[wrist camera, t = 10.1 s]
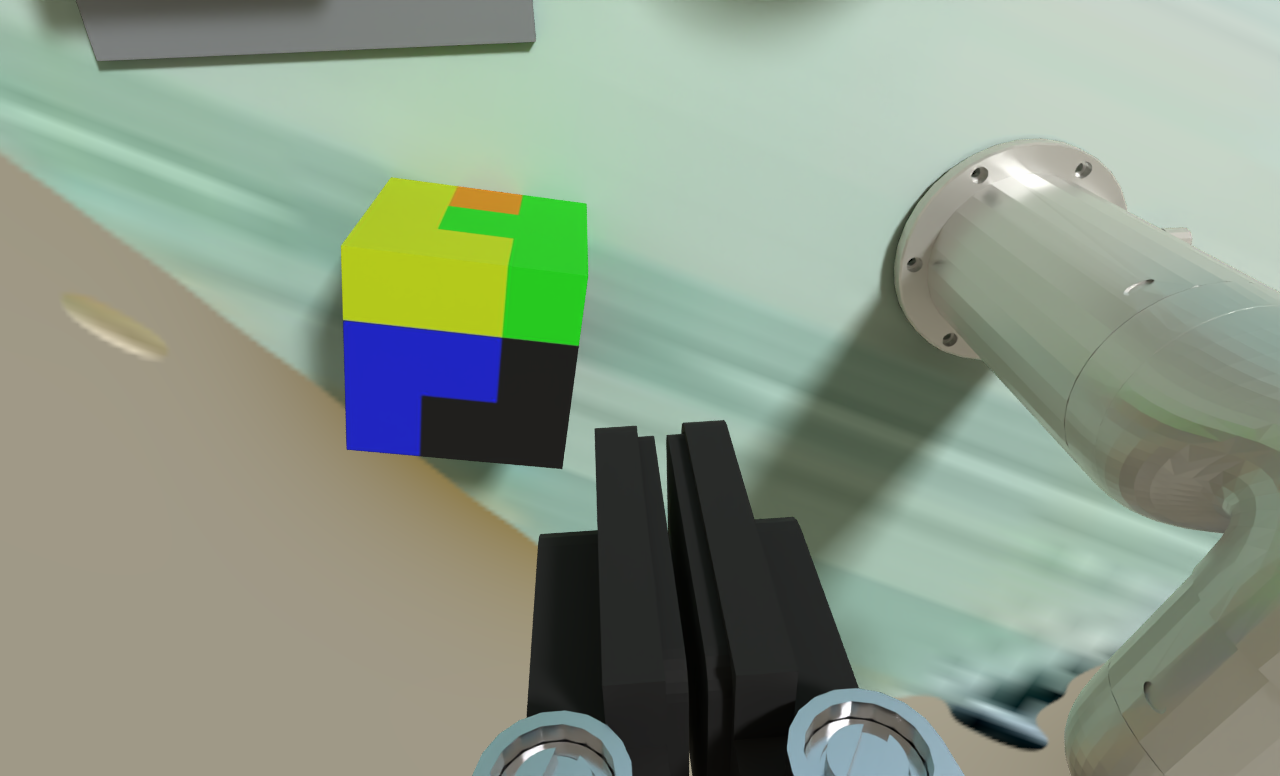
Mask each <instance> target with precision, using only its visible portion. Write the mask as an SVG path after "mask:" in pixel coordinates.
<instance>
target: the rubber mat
mask: <svg viewBox="0 0 1280 776" xmlns="http://www.w3.org/2000/svg"><path fill="white" fill-rule="evenodd" d="M76 2H77V5H78V8H79V11H80V14H81V17H82V19H83V22H84V25H85V28H86V31H87V34H88V37H89V39H90V42H91V45H92V48H93V51H94V54H95V57H96V59H97V61H109V60H132V59H155V58H178V57H200V56H223V55H246V54H268V53H291V52H314V51H336V50H359V49H382V48H404V47H427V46H450V45H472V44H495V43H518V42H536V34H535V23H534V12H533V1H532V0H76Z"/></svg>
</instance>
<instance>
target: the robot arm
mask: <svg viewBox="0 0 1280 776" xmlns="http://www.w3.org/2000/svg"><path fill="white" fill-rule="evenodd" d="M1077 166H1078V167H1077ZM975 169H977V171H976V173H975V174H974V175H972V173H973V171H974V170H975ZM1191 244H1192V235H1191V232H1190V231H1189V230H1188V228H1184V227H1179V228H1161V229H1160V228H1158V227H1156V226H1154V225H1152V224H1151V223H1149V222H1147V221H1145V220H1143V219H1141V218H1139V217H1137V216H1135V215H1134V214H1132V213H1130V212H1128V211H1127V205H1126V202H1125V199H1124V195H1123V192H1122V189H1121V187H1120V185H1119V183H1118V182H1117V180H1116V179H1115V177H1114V175H1113V174H1112V172H1111V171H1110V170H1109V169H1108V168H1107V167H1106V166H1105V165H1104V164H1103V163H1102V162H1101V161H1100V160H1099V159H1097V158H1096V157H1094V156H1092V155H1090V154H1088V153H1087V152H1085V151H1083V150H1081V149H1079V148H1077V147H1074V146H1072V145H1069V144H1067V143H1064V142H1060V141H1054V140H1048V139H1041V138H1040V139H1020V140H1014V141H1010V142H1006V143H1002V144H998V145H994V146H992V147H990V148H987V149H985V150H983V151H981V152H978V153H976V154H974V155H972V156H970V157H969V158H967V159H965V160H964V161H962V162H961V163H959V164H958V165H956V166H955V167H953V168H952V169H950V170H949V171H948V172H947V173H946V174H945V175H944V176H942V177H941V178H940V179H939V180H938V181H937V182H936V183H935V184H933V186H932V187H931V188H930V189H929V190H928V192H927V193H926V194H925V195H924V196H923V198H922V199H921V200H920V201H919V202H918V204H917V205H916V207H915V209H914V210H913V212H912V214H911V216H910V217H909V219H908V221H907V222H906V224H905V227H904V230H903V232H902V235H901V237H900V240H899V243H898V246H897V252H896V257H895V263H894V285H895V289H896V293H897V297H898V302H899V304H900V306H901V308H902V310H903V312H904V314H905V316H906V318H907V319H908V321H909V322H910V323H911V324H912V326H913V327H914V328H915V330H916V331H917V332H918V333H919V334H920V335H921V336H922V337H923V338H924V339H926V340H927V341H928V342H929V343H930V344H932V345H933V346H935V347H937V348H938V349H940V350H942V351H944V352H946V353H949V354H953V355H956V356H959V357H962V358H970V359H979V360H982V361H983V362H984V363H985V364H986V365H987V366H988V367H989V368H990V369H991V370H992V371H993V373H994V374H995V375H996V376H997V377H998V378H999V379H1000V380H1001V381H1002V382H1003V383H1004V385H1005V386H1006V387H1007V388H1008V389H1009V390H1010V391H1011V392H1012V393H1013V394H1014V395H1015V397H1016V398H1017V399H1018V400H1019V401H1020V402H1021V403H1022V404H1023V405H1024V406H1025V407H1026V409H1027V410H1028V411H1029V412H1030V413H1031V414H1032V415H1033V416H1034V417H1035V418H1036V419H1037V421H1038V422H1039V423H1040V424H1041V425H1042V426H1043V427H1044V428H1045V429H1046V430H1047V432H1048V433H1049V434H1050V435H1051V436H1052V437H1053V438H1054V439H1055V440H1056V441H1057V442H1058V444H1059V445H1060V446H1061V447H1062V448H1063V449H1064V450H1065V451H1066V452H1067V453H1068V454H1069V456H1070V457H1071V458H1072V459H1073V460H1074V461H1075V462H1076V463H1077V464H1078V465H1079V467H1080V468H1081V469H1082V470H1083V471H1084V472H1085V473H1086V474H1087V475H1088V476H1089V477H1090V478H1091V480H1092V481H1093V482H1094V483H1095V484H1096V485H1097V486H1098V487H1099V488H1100V489H1101V490H1103V491H1104V492H1105V493H1106V494H1107V495H1108V496H1110V497H1111V498H1112V499H1114V500H1115V501H1117V502H1118V503H1120V504H1121V505H1123V506H1124V507H1126V508H1128V509H1129V510H1131V511H1133V512H1136V513H1138V514H1140V515H1142V516H1145V517H1147V518H1150V519H1152V520H1155V521H1158V522H1161V523H1165V524H1169V525H1173V526H1177V527H1182V528H1186V529H1192V530H1199V531H1207V532H1215V533H1224V534H1223V536H1222V537H1221V539H1220V540H1219V541H1218V542H1217V543H1216V544H1215V545H1214V547H1213V548H1212V549H1211V550H1210V551H1209V552H1208V553H1207V555H1206V556H1205V557H1204V558H1203V559H1202V560H1201V561H1200V562H1199V563H1198V564H1197V565H1196V567H1195V568H1194V569H1193V572H1192V574H1191V575H1190V577H1189V578H1188V579H1187V580H1186V581H1185V582H1184V583H1183V584H1182V585H1181V586H1180V587H1179V588H1178V589H1177V590H1176V591H1175V592H1174V593H1173V594H1172V595H1171V596H1170V597H1169V598H1168V599H1167V600H1166V601H1165V602H1164V603H1163V604H1162V605H1161V606H1160V607H1159V608H1158V609H1157V610H1156V611H1155V612H1154V614H1153V615H1152V616H1151V617H1150V618H1149V619H1148V620H1147V621H1146V622H1145V623H1144V624H1143V625H1142V626H1141V627H1140V628H1139V629H1138V630H1137V631H1136V632H1135V633H1134V634H1133V635H1132V636H1131V637H1130V638H1129V639H1128V640H1127V641H1126V642H1125V643H1124V644H1123V645H1122V646H1121V647H1120V648H1119V649H1118V651H1117V652H1116V653H1115V654H1114V655H1113V656H1112V657H1111V658H1110V659H1109V660H1108V661H1107V662H1106V663H1105V664H1104V665H1103V666H1102V667H1101V669H1100V670H1099V671H1098V672H1097V673H1096V674H1095V675H1094V677H1093V678H1092V679H1091V680H1090V681H1089V682H1088V684H1087V685H1086V686H1085V687H1084V689H1083V690H1082V691H1081V693H1080V694H1079V696H1078V698H1077V699H1076V701H1075V702H1074V704H1073V706H1072V709H1071V711H1070V713H1069V715H1068V720H1067V724H1066V728H1065V755H1066V760H1067V763H1068V767H1069V770H1070V773H1071V776H1280V292H1279V291H1277V290H1275V289H1273V288H1271V287H1269V286H1267V285H1266V284H1264V283H1262V282H1260V281H1258V280H1256V279H1254V278H1252V277H1250V276H1249V275H1247V274H1245V273H1243V272H1241V271H1239V270H1237V269H1235V268H1233V267H1232V266H1230V265H1228V264H1226V263H1224V262H1222V261H1220V260H1218V259H1217V258H1215V257H1213V256H1211V255H1209V254H1207V253H1205V252H1203V251H1201V250H1200V249H1198V248H1196V247H1194V246H1192V245H1191ZM911 258H913V259H912V261H911V262H909V263H908V261H909V260H910V259H911ZM666 449H667V499H668V530H667V523H666V516H665V509H664V502H663V495H662V488H661V481H660V474H659V467H658V460H657V453H656V446H655V440H654V436H644V437H638V433H637V426H625V427H609V428H595V457H596V491H597V525H598V530H595V531H580V532H565V533H551V534H540V536H539V542H538V554H537V555H538V556H537V569H536V585H535V600H534V614H533V629H532V644H531V659H530V674H529V689H528V705H527V718H525V719H522V720H520V721H518V722H516V723H515V724H513V725H512V726H510V727H509V728H507V729H506V730H504V731H503V732H502V733H500V734H499V735H498V736H497V737H496V738H495V739H494V741H493V742H492V743H491V744H490V745H489V746H488V747H487V749H486V750H485V751H484V752H483V753H482V756H481V758H480V760H479V762H478V764H477V767H476V769H475V771H474V773H473V775H472V776H689V753H690V761H691V769H692V775H693V776H964V774H963V772H962V771H961V769H960V768H959V766H958V764H957V763H956V761H955V759H954V758H953V756H952V754H951V753H950V751H949V750H948V748H947V746H946V745H945V743H944V742H943V740H942V738H941V737H940V736H939V735H938V733H937V732H936V731H935V730H934V728H933V727H932V726H931V725H930V724H929V722H928V721H927V720H926V719H925V718H924V717H922V715H920V714H919V713H918V712H916V711H915V710H913V709H912V708H911V707H909V706H908V705H907V704H905V703H904V702H901V701H899V700H897V699H895V698H892V697H890V696H888V695H886V694H883V693H881V692H875V691H870V690H864V689H859V687H858V685H857V682H856V679H855V676H854V674H853V671H852V668H851V665H850V663H849V660H848V657H847V654H846V652H845V649H844V646H843V643H842V641H841V638H840V635H839V632H838V630H837V627H836V624H835V621H834V619H833V616H832V613H831V610H830V608H829V605H828V602H827V599H826V597H825V594H824V591H823V588H822V586H821V583H820V580H819V577H818V575H817V572H816V569H815V566H814V564H813V561H812V558H811V555H810V553H809V550H808V547H807V544H806V542H805V539H804V536H803V533H802V531H801V528H800V526H799V524H798V522H797V520H796V519H795V518H794V517H785V518H771V519H756V520H754V517H753V513H752V510H751V506H750V503H749V499H748V496H747V493H746V489H745V486H744V482H743V479H742V475H741V472H740V469H739V465H738V462H737V458H736V455H735V451H734V448H733V445H732V441H731V438H730V434H729V431H728V427H727V424H726V422H725V421H724V420H720V421H704V422H688V423H683V424H682V432H681V434H675V435H667V439H666Z"/></svg>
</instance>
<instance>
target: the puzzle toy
mask: <svg viewBox="0 0 1280 776" xmlns="http://www.w3.org/2000/svg"><path fill="white" fill-rule="evenodd" d="M341 265H342V301H343V337H344V373H345V409H346V444H347V450H356V451H368V452H380V453H390V454H401V455H412V456H423V457H435V458H446V459H457V460H468V461H479V462H490V463H502V464H513V465H524V466H535V467H546V468H557V469H562V467H563V459H564V452H565V444H566V437H567V430H568V422H569V415H570V407H571V400H572V392H573V385H574V377H575V370H576V362H577V355H578V348H579V340H580V333H581V325H582V318H583V310H584V303H585V295H586V288H587V280H588V248H587V205H586V204H585V203H578V202H570V201H563V200H555V199H548V198H540V197H533V196H526V195H518V194H511V193H503V192H496V191H488V190H481V189H473V188H466V187H459V186H451V185H444V184H436V183H429V182H421V181H414V180H406V179H399V178H392V177H391V178H390V180H389V181H388V182H387V184H386V185H385V186H384V188H383V189H382V190H381V192H380V193H379V195H378V196H377V197H376V199H375V200H374V201H373V203H372V204H371V205H370V207H369V208H368V209H367V211H366V212H365V214H364V215H363V216H362V218H361V219H360V220H359V222H358V223H357V224H356V226H355V227H354V228H353V230H352V231H351V233H350V234H349V235H348V237H347V238H346V239H345V241H344V242H343V243H342V245H341Z"/></svg>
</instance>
